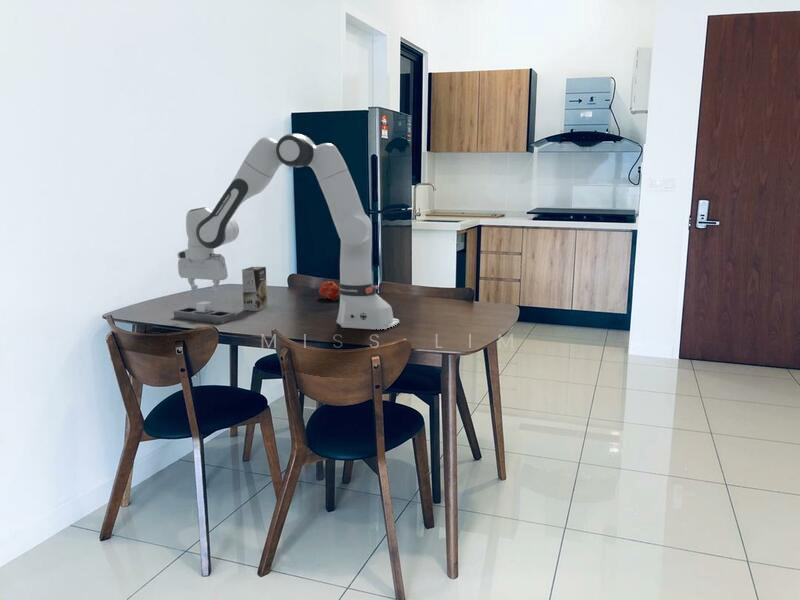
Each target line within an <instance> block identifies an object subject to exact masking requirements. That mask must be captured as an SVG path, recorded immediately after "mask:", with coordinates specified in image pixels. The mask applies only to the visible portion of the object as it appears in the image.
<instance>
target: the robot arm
mask: <svg viewBox="0 0 800 600" xmlns="http://www.w3.org/2000/svg"><path fill="white" fill-rule="evenodd" d="M282 165H285V166H287V167H291V168H303V167H310V168H311V169H312V171H313V172H314V175H315V176H316V179H317V182H318V184H319V187H320V189H321V191H322V193H323V196H324V199H325V201H326V203H327V206H328V210H329V212H330V215H331V218H332V221H333V224H334V226H335V229H336V232H337V234H338V238H339V239H340V251H339V252H340V254H339V280H340V281H339V296H340V297H339V309H338V314H337V318H336V324H338V325H340V328H343V329H344V328H347V329H363V330H376V329H377V330H378V331H379V330H380V329H381V330H380V331H383V330H382V329H384V330H388V329H387V328H389V329H391V328H390V327H392V328H394V327H396V326H398V325H399V324H400V319H398V318H395V317H394V313H393V309H392V306H391V304H389V303H388V302H387V301H386V300H384V299H383V298H382V297H381V296H380V295H378V294H377V289H379V285H374V283H373V282H372V281H373V279H372V247H373V246H372V245H373V243H372V242H373V241H372V239H373V237H372V236H373V233H372V232H373V225H372V221H371V219H370V217H369V216H368V215H367V214H366V213H365V210H364V207H363V204H362V201H361V199H360V196H359V193H358V190H357V188H356V187H357V186H356V185H355V182H354V180H353V178H352V175H351V172H350V171H349V168H348V165H347V164H346V161H345V160H344V157H343V156H342V154H341V153H340V151H339V149H338V148H337V147H336V145H334V143H333V144H332V143H329V142H325V143H320V144H318V145H316V142H315V141H314V140H313V139H312V138H311V137H310V136H308V135H305V134H301V133H288V134H285V135H283V136H282V137H281V138H279V140H276V139H273V138H272V137H266V136H265V137H261V138H259V139H258V140H257V142H256V143H254V145H253V146H252V148H251V149H250V150H249V151H248V153H247V154H246V156H245V158H244V159H243V161H242V163H241V165H240V167H239V169H238V170H237V172H236V174H235V176H234V178H233V179H232V181H231V182H230V184H229V186H228V188H227V189H226V191H225V192H224V193H223V194H222V196H221V198H220V199H219V200H218V202H217V203H216V205H215V207H214V208H213V210H211V209H210V208H209V207H199V208H193V209H190V210H188V212H186V216H185V217H186V218H185V228H186V231H185V232H186V236H187V241H188V242H187V248H186V249H185V250H181V251H179V252H177V255H176V256H177V257H178V262H177V267H178V268H177V269H178V276H180V278H181V279H187V282H188V284H189V285H190V289H191V291H192V292H193V291H195V292H196V291H198V290H199V289H198V284H196V280H209V281H212V283H213V285H212V286H211V287H210V289H211V290H210V291H211V293H217V292H218V291H219V290H218V287H219V284H220V282H221V281H225V280H226V279H227V278H228V277H229V275H228V273H229V272H228V267H227V263H226V258H225V257H224V255H222V254H220V253H217V254H216V253H215V251H214V250H215V249H216V248H219V247H221V246H222V245H223V246H224V245H226V244H230V243H232V242H233V241H234V242H235V240H236V239H237V238H238V236H239V232H240V228H239V225H238V223H237V221H236V220H235V219H233V216H234V215H235V214H236V212H237V210H238V209H239V207H240V206H241V205H242V204H243V203H244V202H245V201H247V200H249V199H250V198H252V197H254V196H256V195H258V194H260V193H262V192H263V191H264V189H266V188H267V186H268V185H269V184H270V183H271V181H272V179H273V177H274V176H275V174H276V172H277V171H278V169H279V168H280V167H281V166H282ZM398 323H399V324H398ZM397 324H398V325H397ZM395 325H396V326H395ZM393 326H394V327H393Z"/></svg>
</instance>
